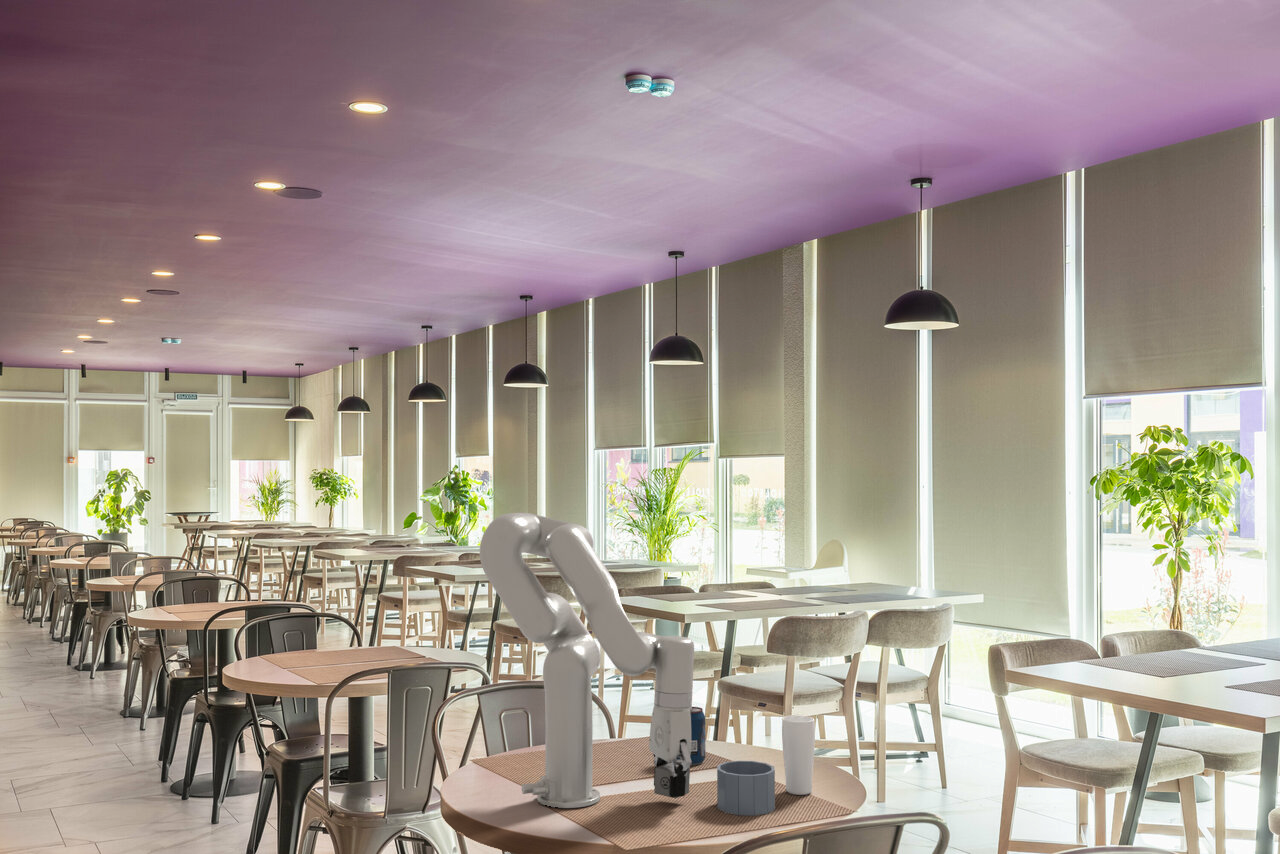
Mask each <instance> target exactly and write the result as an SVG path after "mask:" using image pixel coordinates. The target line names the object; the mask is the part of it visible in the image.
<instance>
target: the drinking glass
mask: <svg viewBox="0 0 1280 854" xmlns="http://www.w3.org/2000/svg"><path fill="white" fill-rule="evenodd" d="M781 740H782V752H783V754H782V755H783V763H784V775H785V790H786V792H787V793H789V794H790V795H795V796H806V795H809V794H811V793H812V791H813V772H814V771H813V770H814V759H815V748H816V745H815V743H816V723H815V718H814V717H812V716H807V715H799V714H797V715H796V714H795V715H794V714H793V715H786V716H782V719H781Z"/></svg>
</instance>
